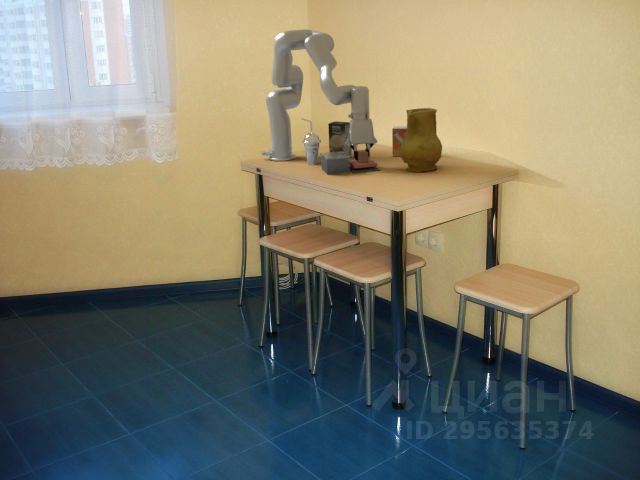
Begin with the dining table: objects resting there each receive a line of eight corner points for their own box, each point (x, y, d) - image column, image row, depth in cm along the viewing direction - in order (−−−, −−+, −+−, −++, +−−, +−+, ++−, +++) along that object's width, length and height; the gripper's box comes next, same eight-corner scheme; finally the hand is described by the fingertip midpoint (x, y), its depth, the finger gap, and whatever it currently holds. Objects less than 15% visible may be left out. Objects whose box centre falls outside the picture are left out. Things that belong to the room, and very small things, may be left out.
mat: (353, 173, 306) (353, 172, 306) (344, 165, 321) (344, 164, 321) (380, 170, 308) (380, 169, 308) (370, 163, 323) (370, 162, 323)
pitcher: (393, 168, 312) (392, 109, 304) (430, 162, 318) (430, 105, 311) (413, 175, 297) (413, 114, 289) (452, 169, 303) (453, 109, 296)
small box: (392, 156, 335) (391, 128, 331) (393, 154, 340) (393, 126, 336) (410, 156, 333) (410, 128, 329) (411, 154, 339) (411, 125, 335)
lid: (354, 168, 308) (353, 155, 306) (347, 162, 319) (346, 149, 317) (377, 166, 309) (376, 153, 308) (369, 160, 321) (369, 148, 319)
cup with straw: (307, 166, 324) (304, 121, 317) (300, 162, 332) (297, 118, 325) (325, 164, 326) (323, 119, 320) (317, 160, 335) (315, 116, 328)
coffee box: (328, 158, 339) (327, 123, 334) (335, 155, 344) (334, 121, 339) (345, 159, 334) (344, 124, 329) (352, 156, 339) (351, 122, 334)
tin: (327, 174, 306) (326, 158, 304) (321, 169, 317) (320, 153, 315) (350, 172, 308) (349, 156, 306) (343, 166, 319) (342, 151, 317)
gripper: (343, 119, 303) (344, 162, 308) (382, 116, 306) (383, 159, 311) (339, 116, 310) (340, 159, 315) (377, 113, 313) (378, 155, 318)
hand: (361, 158), depth 313 cm, fingers closed on lid, 4 cm apart
